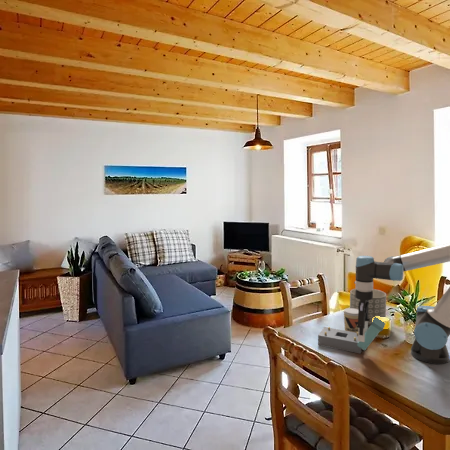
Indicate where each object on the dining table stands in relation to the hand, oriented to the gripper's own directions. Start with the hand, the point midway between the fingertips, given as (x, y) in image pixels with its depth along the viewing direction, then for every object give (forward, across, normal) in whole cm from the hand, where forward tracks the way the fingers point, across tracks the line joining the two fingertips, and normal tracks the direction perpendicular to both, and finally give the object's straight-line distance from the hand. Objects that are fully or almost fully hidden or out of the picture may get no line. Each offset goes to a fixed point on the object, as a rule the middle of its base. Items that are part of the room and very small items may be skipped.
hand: (362, 337), depth 164 cm
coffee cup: (+8, -25, -9) cm, 28 cm away
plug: (+4, 0, 0) cm, 4 cm away
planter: (+8, -42, -4) cm, 43 cm away
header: (+8, -7, -11) cm, 15 cm away
